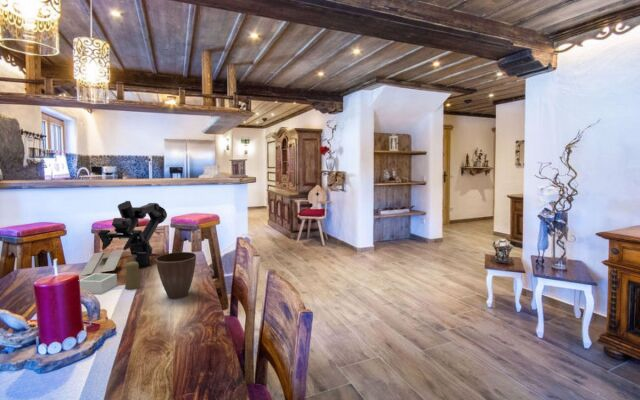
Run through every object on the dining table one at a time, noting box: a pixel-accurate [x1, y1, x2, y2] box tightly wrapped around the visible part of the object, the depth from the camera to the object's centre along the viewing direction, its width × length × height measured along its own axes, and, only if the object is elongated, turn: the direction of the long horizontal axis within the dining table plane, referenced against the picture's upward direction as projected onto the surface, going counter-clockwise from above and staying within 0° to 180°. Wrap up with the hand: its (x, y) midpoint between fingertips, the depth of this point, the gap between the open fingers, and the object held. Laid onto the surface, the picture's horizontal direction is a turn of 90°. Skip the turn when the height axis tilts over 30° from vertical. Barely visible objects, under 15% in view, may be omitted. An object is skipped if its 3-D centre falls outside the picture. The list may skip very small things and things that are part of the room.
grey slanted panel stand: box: [79, 248, 125, 276], centre depth 171 cm, size 16×9×15 cm
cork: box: [124, 260, 142, 291], centre depth 147 cm, size 6×6×11 cm
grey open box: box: [79, 273, 118, 295], centre depth 145 cm, size 10×10×5 cm
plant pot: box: [155, 251, 197, 300], centre depth 138 cm, size 15×15×16 cm
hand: (113, 249), depth 152 cm, fingers open, 9 cm apart
